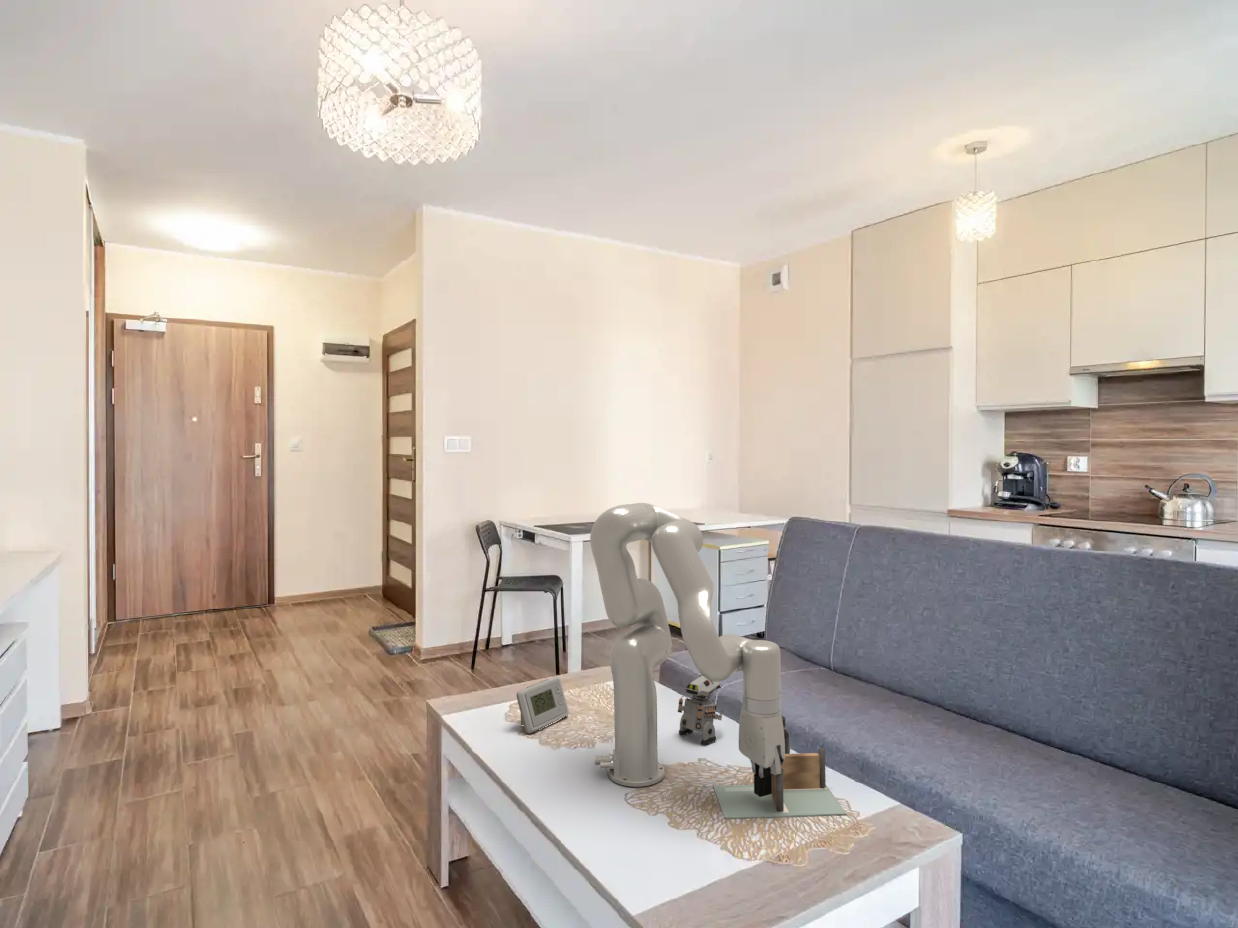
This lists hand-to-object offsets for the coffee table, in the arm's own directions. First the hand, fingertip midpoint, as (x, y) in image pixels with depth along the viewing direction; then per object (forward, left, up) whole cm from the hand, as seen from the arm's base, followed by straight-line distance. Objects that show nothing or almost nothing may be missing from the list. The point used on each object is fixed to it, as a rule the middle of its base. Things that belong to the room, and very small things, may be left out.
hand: (762, 793), depth 140 cm
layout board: (+3, +1, -2) cm, 4 cm away
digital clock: (-48, +46, -2) cm, 66 cm away
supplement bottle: (+6, +15, -2) cm, 16 cm away
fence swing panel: (+3, +1, -2) cm, 4 cm away
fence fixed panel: (+10, +6, -2) cm, 11 cm away
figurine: (-7, +35, -2) cm, 35 cm away
